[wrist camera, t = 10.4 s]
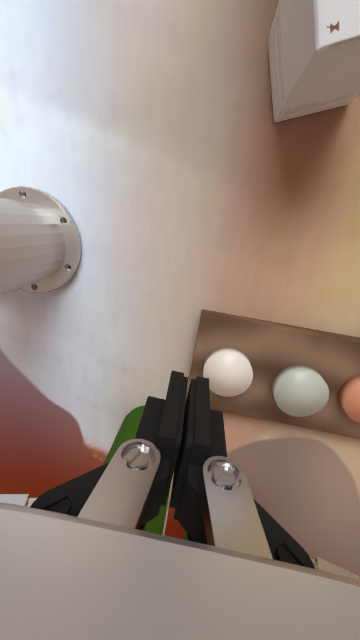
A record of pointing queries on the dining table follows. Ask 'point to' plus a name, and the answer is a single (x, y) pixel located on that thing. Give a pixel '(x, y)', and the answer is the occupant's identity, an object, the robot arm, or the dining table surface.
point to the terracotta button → (351, 398)
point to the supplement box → (314, 56)
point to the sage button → (300, 391)
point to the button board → (280, 366)
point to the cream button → (228, 372)
